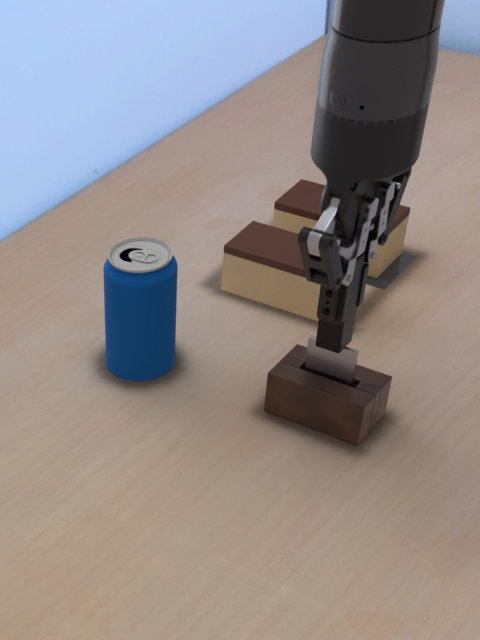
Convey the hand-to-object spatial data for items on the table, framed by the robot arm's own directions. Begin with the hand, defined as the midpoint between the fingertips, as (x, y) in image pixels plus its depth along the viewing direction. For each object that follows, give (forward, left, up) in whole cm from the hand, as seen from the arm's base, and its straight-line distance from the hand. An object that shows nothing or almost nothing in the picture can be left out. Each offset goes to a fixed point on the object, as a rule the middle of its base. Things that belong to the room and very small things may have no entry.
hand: (339, 311), depth 89 cm
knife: (0, 0, -10) cm, 10 cm away
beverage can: (+18, +2, -11) cm, 21 cm away
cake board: (+12, -20, -11) cm, 26 cm away
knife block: (0, 0, -11) cm, 11 cm away
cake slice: (+12, -15, -10) cm, 22 cm away
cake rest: (+12, -24, -10) cm, 29 cm away
